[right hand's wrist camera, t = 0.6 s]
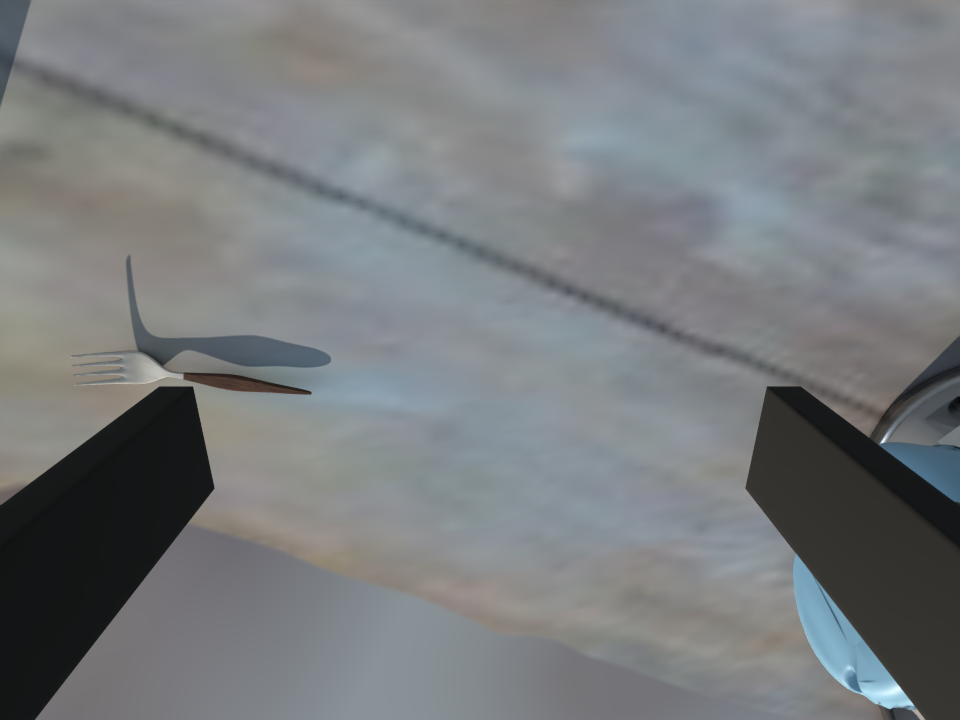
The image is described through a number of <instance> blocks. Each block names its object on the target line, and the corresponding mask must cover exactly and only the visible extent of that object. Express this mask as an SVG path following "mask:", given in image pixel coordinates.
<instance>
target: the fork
mask: <svg viewBox="0 0 960 720" xmlns="http://www.w3.org/2000/svg"><path fill="white" fill-rule="evenodd" d="M72 357H120V358H121V359H120V360H117V361H108V362H97V363H88V364H80V365H73V366H72V367H80V366H120V367H121V369H118V370H110V371H100V372H92V373H83V374H76V375H73V376H89V375H121V376H122V378H119V379H112V380H102V381H94V382H86V383H78V384H74V385H75V386H77V385H93V384H145V383H150V382H153V381H156V380H159V379H161V378H165V377H174V378H179V379H184V380H188V381H192V382H196V383H200V384H204V385H208V386H212V387H217V388H221V389H226V390H233V391H246V392H270V393H286V394H311V392H310V391H307V390H303V389H298V388H294V387H289V386H284V385H279V384H274V383H270V382H265V381H261V380H257V379H252V378H248V377H244V376H238V375H231V374H214V373H182V372H173V371H170V370H167V369H166V368H164V367H163V366H162V365H160V364H159V363H158V362H157V361H155V360H154V359H153V358H152V357H150V356H149V355H147V354H145V353H142V352H139V351H117V352H104V353H93V354H83V355H74V356H71V358H72Z"/></svg>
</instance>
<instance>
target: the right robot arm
mask: <svg viewBox="0 0 960 720" xmlns="http://www.w3.org/2000/svg"><path fill="white" fill-rule="evenodd" d="M213 490H214V484H213V479H212V474H211V469H210V465H209V460H208V455H207V450H206V446H205V441H204V436H203V432H202V427H201V422H200V417H199V413H198V408H197V403H196V398H195V394H194V389H193V387H158V388H157V389H156V390H154V391H153V392H152V393H150V394H149V395H148V396H146V397H145V398H144V399H142V400H141V401H140V402H138V403H137V404H135V405H134V406H133V407H131V408H130V409H129V410H127V411H126V412H125V413H123V414H122V415H121V416H119V417H118V418H117V419H115V420H114V421H113V422H111V423H110V424H109V425H107V426H106V427H105V428H103V429H102V430H101V431H99V432H98V433H97V434H95V435H94V436H93V437H91V438H90V439H89V440H87V441H86V442H85V443H83V444H82V445H81V446H79V447H78V448H77V449H75V450H74V451H73V452H71V453H70V454H69V455H67V456H66V457H65V458H63V459H62V460H61V461H59V462H58V463H57V464H55V465H54V466H53V467H51V468H50V469H49V470H47V471H46V472H45V473H43V474H42V475H41V476H39V477H38V478H37V479H35V480H34V481H33V482H31V483H30V484H29V485H27V486H26V487H25V488H23V489H22V490H21V491H19V492H18V493H17V494H15V495H14V496H13V497H11V498H10V499H9V500H7V501H6V502H5V503H3V504H2V505H0V720H35V719H36V718H37V716H38V715H39V714H40V712H41V711H42V710H43V709H44V707H45V706H46V705H47V703H48V702H49V701H50V699H51V698H52V697H53V696H54V694H55V693H56V692H57V690H58V689H59V688H60V687H61V685H62V684H63V683H64V681H65V680H66V679H67V678H68V676H69V675H70V674H71V672H72V671H73V670H74V669H75V667H76V666H77V665H78V663H79V662H80V661H81V659H82V658H83V657H84V656H85V654H86V653H87V652H88V651H89V649H90V648H91V647H92V645H93V644H94V643H95V642H96V640H97V639H98V638H99V636H100V635H101V634H102V633H103V631H104V630H105V629H106V627H107V626H108V625H109V624H110V622H111V621H112V620H113V618H114V617H115V616H116V615H117V613H118V612H119V611H120V609H121V608H122V607H123V605H124V604H125V603H126V602H127V600H128V599H129V598H130V597H131V595H132V594H133V593H134V591H135V590H136V589H137V588H138V586H139V585H140V584H141V582H142V581H143V580H144V578H145V577H146V576H147V575H148V573H149V572H150V571H151V569H152V568H153V567H154V566H155V564H156V563H157V562H158V560H159V559H160V558H161V557H162V555H163V554H164V553H165V551H166V550H167V549H168V548H169V546H170V545H171V544H172V542H173V541H174V540H175V538H176V537H177V536H178V535H179V533H180V532H181V531H182V530H183V528H184V527H185V526H186V524H187V523H188V522H189V521H190V519H191V518H192V517H193V515H194V514H195V513H196V512H197V510H198V509H199V508H200V506H201V505H202V504H203V503H204V501H205V500H206V499H207V497H208V496H209V495H210V494H211V492H212V491H213ZM746 490H747V491H748V492H749V494H750V495H751V496H752V497H753V499H754V500H755V501H756V503H757V504H758V505H759V506H760V508H761V509H762V510H763V512H764V513H765V514H766V515H767V517H768V518H769V519H770V521H771V522H772V523H773V524H774V526H775V527H776V528H777V530H778V531H779V532H780V533H781V535H782V536H783V537H784V539H785V540H786V541H787V542H788V544H789V545H790V546H791V548H792V549H793V550H794V551H795V553H796V554H797V555H798V557H799V558H800V559H801V560H802V562H803V563H804V564H805V566H806V567H807V568H808V569H809V571H810V572H811V573H812V575H813V576H814V577H815V578H816V580H817V581H818V582H819V584H820V585H821V586H822V588H823V589H824V590H825V591H826V593H827V594H828V595H829V597H830V598H831V599H832V600H833V602H834V603H835V604H836V606H837V607H838V608H839V609H840V611H841V612H842V613H843V615H844V616H845V617H846V618H847V620H848V621H849V622H850V624H851V625H852V626H853V627H854V629H855V630H856V631H857V633H858V634H859V635H860V636H861V638H862V639H863V640H864V642H865V643H866V644H867V645H868V647H869V648H870V649H871V651H872V652H873V653H874V654H875V656H876V657H877V658H878V660H879V661H880V662H881V663H882V665H883V666H884V667H885V669H886V670H887V671H888V672H889V674H890V675H891V676H892V678H893V679H894V680H895V681H896V683H897V684H898V685H899V687H900V688H901V689H902V690H903V692H904V693H905V694H906V696H907V697H908V698H909V699H910V701H911V702H912V703H913V705H914V706H915V707H916V709H917V710H918V711H919V712H920V714H921V715H922V716H923V718H924V719H925V720H960V503H959V502H954V501H953V500H951V499H950V498H949V497H947V496H946V495H945V494H943V493H942V492H941V491H939V490H938V489H937V488H935V487H934V486H933V485H931V484H930V483H929V482H927V481H926V480H925V479H923V478H922V477H921V476H919V475H918V474H917V473H915V472H914V471H913V470H911V469H910V468H909V467H907V466H906V465H905V464H903V463H902V462H901V461H899V460H898V459H897V458H895V457H894V456H893V455H891V454H890V453H889V452H887V451H886V450H885V449H883V448H882V447H881V446H879V445H878V444H877V443H875V442H874V441H873V440H871V439H870V438H869V437H867V436H866V435H865V434H863V433H862V432H861V431H859V430H858V429H857V428H855V427H854V426H853V425H851V424H850V423H849V422H847V421H846V420H845V419H843V418H842V417H841V416H839V415H838V414H837V413H835V412H834V411H833V410H831V409H830V408H829V407H827V406H826V405H825V404H823V403H822V402H820V401H819V400H818V399H816V398H815V397H814V396H812V395H811V394H810V393H808V392H807V391H806V390H804V389H803V388H802V387H767V389H766V394H765V398H764V403H763V408H762V413H761V417H760V422H759V427H758V432H757V436H756V441H755V446H754V450H753V455H752V460H751V465H750V469H749V474H748V479H747V484H746Z"/></svg>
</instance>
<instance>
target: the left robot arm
mask: <svg viewBox="0 0 960 720" xmlns="http://www.w3.org/2000/svg"><path fill="white" fill-rule="evenodd" d="M870 439H871V440H873V441H874V442H875V443H877V444H878V445H879V446H881V447H882V448H883V449H885V450H886V451H887V452H889V453H890V454H891V455H893V456H894V457H895V458H897V459H898V460H899V461H901V462H902V463H903V464H905V465H906V466H907V467H909V468H910V469H911V470H913V471H914V472H915V473H917V474H918V475H919V476H921V477H922V478H923V479H925V480H926V481H927V482H929V483H930V484H931V485H933V486H934V487H935V488H937V489H938V490H939V491H941V492H942V493H943V494H945V495H946V496H947V497H949V498H950V499H951V500H953V501H954V502H959V503H960V367H957V368H954V369H951V370H948V371H946V372H943V373H941V374H939V375H936V376H934V377H933V378H931V379H929V380H927V381H925V382H923V383H922V384H920V385H919V386H917V387H915V388H914V389H913V390H911V391H910V392H908V393H907V394H906V395H905V396H903V397H902V398H901V399H900V400H899V401H898V402H897V403H896V404H895V405H893V406H892V407H891V408H890V410H889V411H888V412H887V413H886V414H885V415H884V416H883V418H882V419H881V420H880V422H879V423H878V424H877V426H876V427H875V429H874V431H873V432H872V434H871V436H870ZM793 577H794V590H795V597H796V603H797V608H798V612H799V616H800V619H801V622H802V625H803V628H804V631H805V634H806V636H807V638H808V641H809V643H810V645H811V647H812V648H813V650H814V652H815V654H816V655H817V657H818V658H819V660H820V661H821V663H822V664H823V665H824V667H825V668H826V669H827V670H828V671H829V673H830V674H831V675H832V676H833V677H834V678H835V679H837V680H838V681H839V682H840V683H841V684H842V685H844V686H845V687H846V688H848V689H850V690H851V691H853V692H855V693H859V694H861V695H864V696H866V697H867V698H868V699H869V700H871V701H872V702H873V703H875V704H879V706H880V709H881V712H882V715H883V718H884V720H895V716H894V713H893V711H892V708H902V709H907V710H912V711H913V712H914V713H915V714H916V715H917V716H918V717H919V719H920V720H925V719H924V718H923V716H922V715H921V714H920V712H919V711H918V710H917V709H916V707H915V706H914V705H913V703H912V702H911V701H910V699H909V698H908V697H907V696H906V694H905V693H904V692H903V690H902V689H901V688H900V687H899V685H898V684H897V683H896V681H895V680H894V679H893V678H892V676H891V675H890V674H889V672H888V671H887V670H886V669H885V667H884V666H883V665H882V663H881V662H880V661H879V660H878V658H877V657H876V656H875V654H874V653H873V652H872V651H871V649H870V648H869V647H868V645H867V644H866V643H865V642H864V640H863V639H862V638H861V636H860V635H859V634H858V633H857V631H856V630H855V629H854V627H853V626H852V625H851V624H850V622H849V621H848V620H847V618H846V617H845V616H844V615H843V613H842V612H841V611H840V609H839V608H838V607H837V606H836V604H835V603H834V602H833V600H832V599H831V598H830V597H829V595H828V594H827V593H826V591H825V590H824V589H823V588H822V586H821V585H820V584H819V582H818V581H817V580H816V578H815V577H814V576H813V575H812V573H811V572H810V571H809V569H808V568H807V567H806V566H805V564H804V563H803V562H802V560H801V559H800V558H799V557H798V555H797V554H796V553H795V559H794V564H793Z"/></svg>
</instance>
